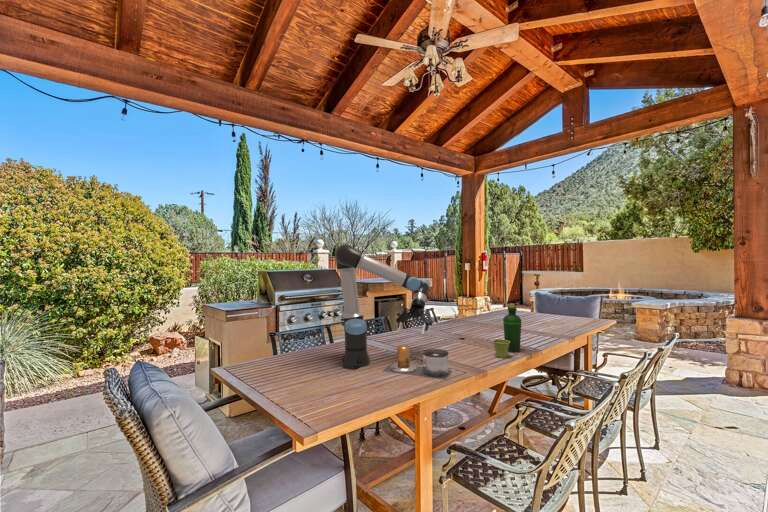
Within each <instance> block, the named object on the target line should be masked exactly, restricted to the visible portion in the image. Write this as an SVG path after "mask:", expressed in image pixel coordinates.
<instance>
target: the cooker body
mask: <svg viewBox="0 0 768 512" xmlns="http://www.w3.org/2000/svg"><path fill="white" fill-rule="evenodd" d="M422 360H423V361H422V367H423V373H424V375H426V376H429V377H445V376H447V375H448V370H449V352H448V351H447V350H445V349H439V348H429V349H428V348H427V349H426V350H423V351H422ZM429 377H428V378H429Z"/></svg>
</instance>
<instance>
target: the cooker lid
mask: <svg viewBox="0 0 768 512" xmlns="http://www.w3.org/2000/svg"><path fill="white" fill-rule="evenodd" d="M410 352H411V351H410V345H407V344H400V345H398V346H397V362H395V364H393V365H391V370H392V371H393V372H396V373H395V374H399V373H412V372H415V371H416V370H417V366H418V365H416V364H414V363H411V362H410V360H411V359H410V355H411V354H410Z"/></svg>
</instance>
